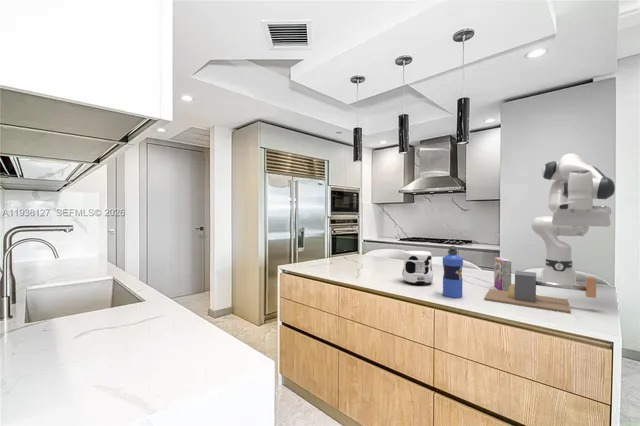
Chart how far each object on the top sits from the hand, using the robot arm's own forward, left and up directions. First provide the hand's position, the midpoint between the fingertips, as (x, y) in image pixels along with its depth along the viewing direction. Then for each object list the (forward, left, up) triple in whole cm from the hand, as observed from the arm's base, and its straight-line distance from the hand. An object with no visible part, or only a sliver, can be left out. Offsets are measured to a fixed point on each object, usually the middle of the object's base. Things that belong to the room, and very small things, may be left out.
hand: (579, 235), depth 139 cm
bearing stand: (+9, -20, -31) cm, 38 cm away
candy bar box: (-8, -31, -31) cm, 45 cm away
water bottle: (+20, -50, -31) cm, 62 cm away
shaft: (+9, -8, -25) cm, 28 cm away
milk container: (+4, -73, -31) cm, 80 cm away
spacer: (+9, -25, -30) cm, 40 cm away
